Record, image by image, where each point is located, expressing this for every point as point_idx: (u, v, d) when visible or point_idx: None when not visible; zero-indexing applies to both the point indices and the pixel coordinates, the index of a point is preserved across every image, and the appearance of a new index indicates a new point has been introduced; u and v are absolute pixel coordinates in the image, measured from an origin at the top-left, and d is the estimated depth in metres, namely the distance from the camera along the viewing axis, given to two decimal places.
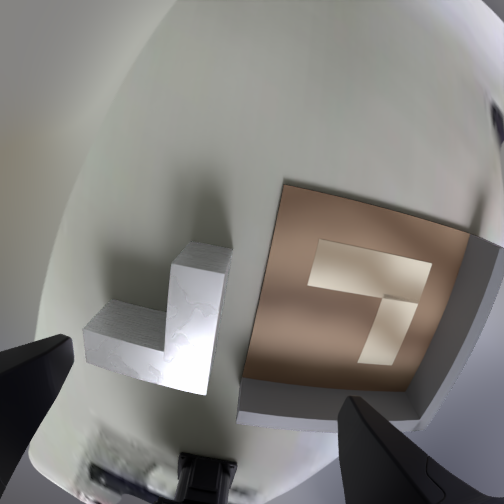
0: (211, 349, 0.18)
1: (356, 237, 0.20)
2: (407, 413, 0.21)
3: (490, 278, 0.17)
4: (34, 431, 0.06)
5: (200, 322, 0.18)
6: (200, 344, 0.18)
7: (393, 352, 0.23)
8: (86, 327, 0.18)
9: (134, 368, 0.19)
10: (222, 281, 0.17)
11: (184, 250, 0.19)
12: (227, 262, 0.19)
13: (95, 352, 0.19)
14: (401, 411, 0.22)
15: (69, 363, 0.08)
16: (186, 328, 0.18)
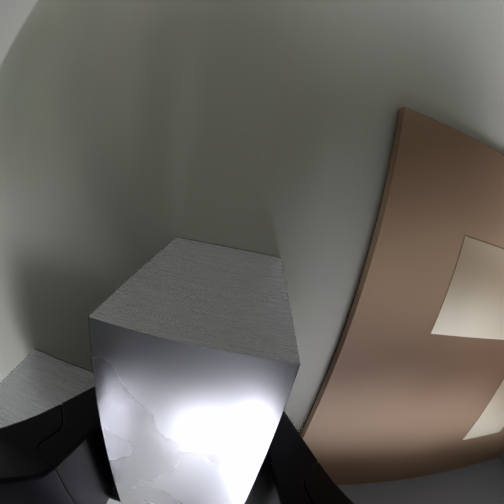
0: None
1: None
2: None
3: None
4: None
5: (207, 477, 0.05)
6: None
7: None
8: None
9: None
10: (287, 387, 0.04)
11: (153, 262, 0.06)
12: (285, 302, 0.06)
13: None
14: (501, 489, 0.09)
15: None
16: (166, 481, 0.05)
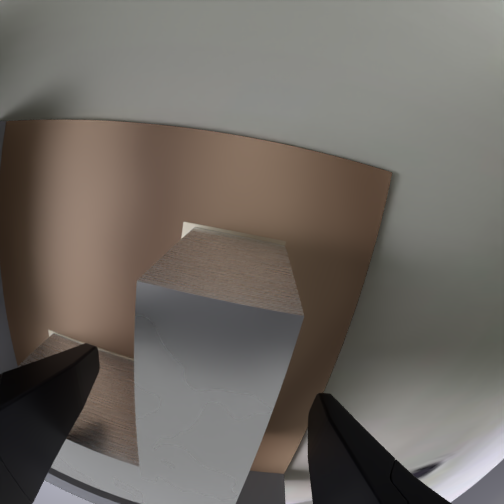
0: (246, 472, 0.07)
1: None
2: None
3: None
4: (60, 445, 0.06)
5: (223, 429, 0.06)
6: (221, 464, 0.07)
7: None
8: None
9: (87, 475, 0.07)
10: (294, 336, 0.05)
11: (179, 245, 0.08)
12: (290, 277, 0.07)
13: None
14: None
15: (95, 373, 0.08)
16: (187, 437, 0.06)
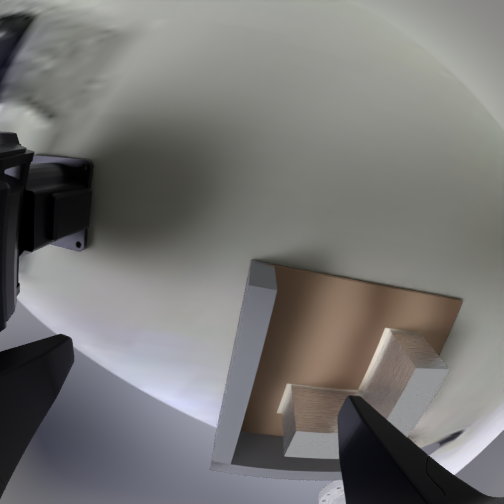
0: (415, 423, 0.17)
1: None
2: None
3: None
4: (34, 431, 0.06)
5: (418, 406, 0.17)
6: (410, 421, 0.17)
7: None
8: (298, 428, 0.18)
9: None
10: (446, 374, 0.16)
11: (402, 346, 0.18)
12: (436, 354, 0.18)
13: (301, 447, 0.18)
14: None
15: (69, 363, 0.08)
16: (405, 413, 0.17)
